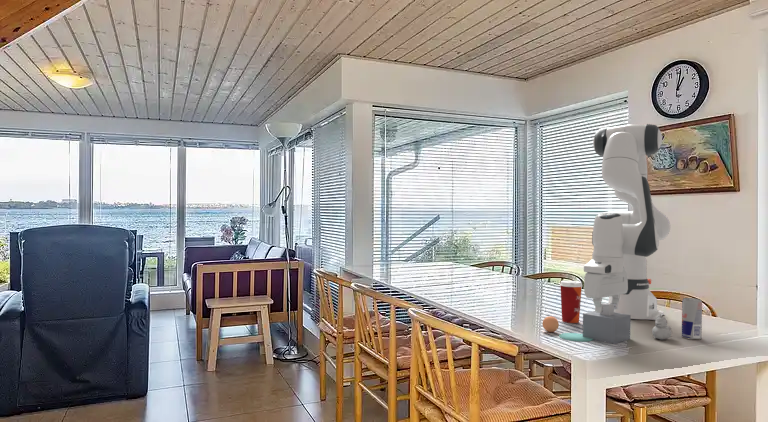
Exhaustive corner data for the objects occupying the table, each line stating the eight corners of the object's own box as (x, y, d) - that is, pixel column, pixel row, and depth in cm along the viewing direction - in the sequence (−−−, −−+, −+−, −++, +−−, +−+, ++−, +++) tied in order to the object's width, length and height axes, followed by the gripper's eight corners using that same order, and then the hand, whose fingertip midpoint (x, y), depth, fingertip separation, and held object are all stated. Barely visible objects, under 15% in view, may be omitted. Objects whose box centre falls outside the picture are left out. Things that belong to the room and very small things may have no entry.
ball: (548, 329, 174) (548, 314, 174) (561, 332, 170) (562, 316, 170) (539, 331, 171) (539, 316, 170) (552, 334, 167) (553, 318, 167)
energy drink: (680, 335, 168) (681, 297, 168) (699, 336, 166) (700, 298, 166) (683, 338, 163) (683, 300, 163) (703, 340, 161) (703, 301, 161)
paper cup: (583, 324, 182) (584, 283, 182) (560, 323, 184) (561, 282, 184) (580, 319, 190) (580, 280, 190) (557, 318, 191) (558, 279, 191)
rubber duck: (646, 338, 164) (647, 312, 164) (661, 336, 167) (662, 310, 167) (662, 342, 159) (662, 315, 159) (677, 340, 162) (677, 314, 162)
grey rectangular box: (599, 332, 170) (599, 299, 170) (630, 338, 162) (630, 304, 162) (582, 337, 164) (583, 303, 164) (614, 343, 156) (614, 308, 156)
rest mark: (570, 332, 170) (570, 331, 170) (599, 338, 163) (599, 337, 163) (552, 336, 164) (552, 336, 164) (582, 343, 156) (582, 342, 156)
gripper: (614, 263, 172) (613, 305, 172) (580, 266, 159) (579, 312, 159) (633, 264, 167) (632, 308, 167) (600, 268, 154) (599, 316, 154)
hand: (606, 310), depth 163 cm, fingers open, 8 cm apart
